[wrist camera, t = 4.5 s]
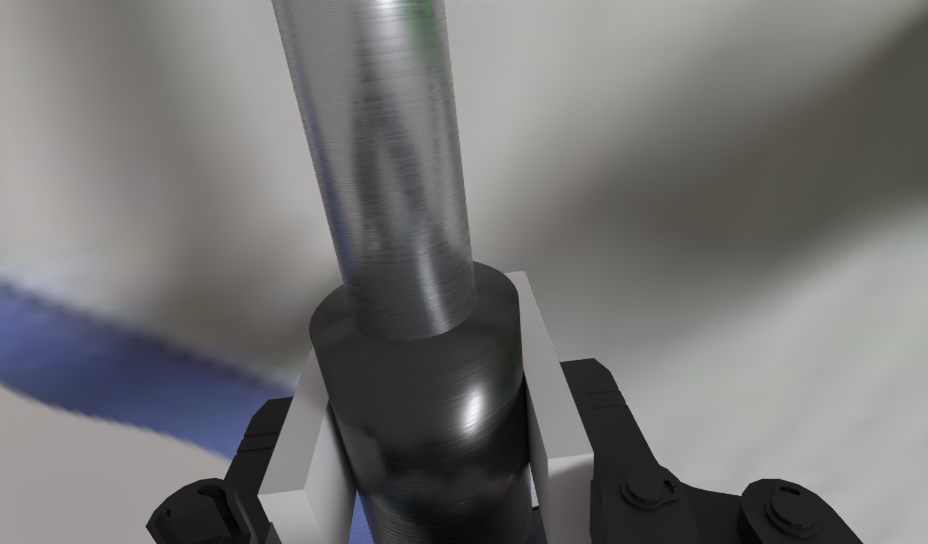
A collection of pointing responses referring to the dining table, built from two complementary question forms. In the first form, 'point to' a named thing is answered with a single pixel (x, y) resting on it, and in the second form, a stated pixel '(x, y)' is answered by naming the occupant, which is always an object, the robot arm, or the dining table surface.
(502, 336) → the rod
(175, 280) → the dining table surface
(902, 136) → the dining table surface
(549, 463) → the robot arm
